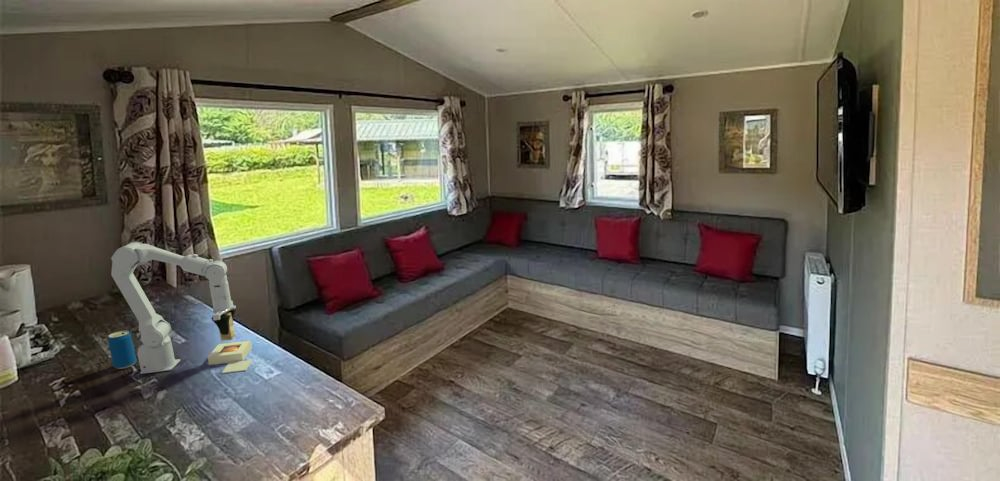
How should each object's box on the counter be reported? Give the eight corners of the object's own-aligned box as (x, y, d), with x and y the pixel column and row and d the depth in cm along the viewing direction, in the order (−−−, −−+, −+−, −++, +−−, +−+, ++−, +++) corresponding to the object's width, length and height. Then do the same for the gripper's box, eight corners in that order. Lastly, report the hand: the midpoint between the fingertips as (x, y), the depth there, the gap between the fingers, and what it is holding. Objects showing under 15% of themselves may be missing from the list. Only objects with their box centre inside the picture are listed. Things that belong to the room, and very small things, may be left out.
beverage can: (141, 362, 172) (134, 331, 170) (122, 371, 166) (115, 338, 164) (128, 360, 174) (121, 329, 172) (109, 368, 168) (102, 336, 166)
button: (220, 357, 171) (220, 353, 171) (225, 351, 176) (225, 347, 176) (236, 355, 172) (235, 351, 172) (240, 349, 177) (239, 345, 177)
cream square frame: (208, 365, 168) (207, 357, 168) (220, 351, 179) (218, 344, 178) (243, 361, 170) (241, 353, 170) (252, 347, 181) (250, 340, 180)
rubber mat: (221, 373, 162) (221, 372, 161) (229, 363, 169) (229, 362, 169) (246, 370, 163) (245, 369, 163) (252, 360, 170) (252, 359, 170)
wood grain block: (221, 340, 171) (216, 316, 169) (224, 336, 174) (220, 313, 172) (232, 339, 172) (227, 315, 170) (235, 335, 175) (231, 312, 173)
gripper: (226, 301, 163) (232, 338, 166) (239, 288, 177) (245, 323, 180) (203, 303, 162) (210, 341, 165) (218, 290, 176) (224, 325, 179)
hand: (227, 331), depth 172 cm, fingers closed on wood grain block, 3 cm apart
